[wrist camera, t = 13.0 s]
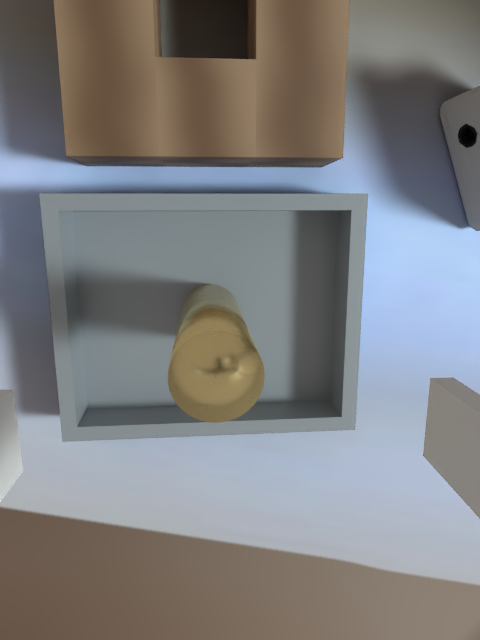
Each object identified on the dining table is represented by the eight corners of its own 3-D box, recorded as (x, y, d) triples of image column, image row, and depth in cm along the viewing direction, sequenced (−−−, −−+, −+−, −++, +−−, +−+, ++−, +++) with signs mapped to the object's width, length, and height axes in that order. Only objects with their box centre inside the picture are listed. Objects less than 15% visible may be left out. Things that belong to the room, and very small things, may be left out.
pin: (238, 283, 32) (265, 329, 19) (238, 338, 33) (264, 420, 19) (181, 284, 32) (165, 331, 18) (182, 339, 33) (169, 424, 19)
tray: (348, 196, 33) (367, 193, 29) (338, 407, 36) (355, 429, 32) (59, 196, 31) (39, 193, 27) (78, 416, 34) (62, 441, 30)
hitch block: (330, -101, 29) (356, -168, 24) (321, 167, 32) (342, 157, 27) (67, -116, 27) (38, -189, 22) (87, 165, 31) (66, 155, 26)
